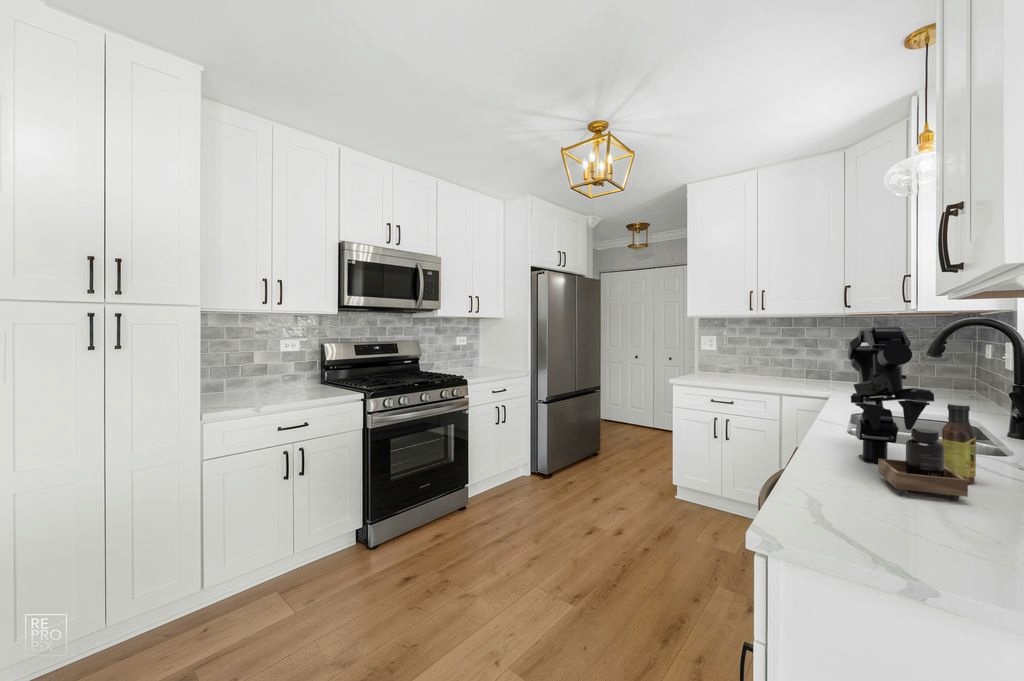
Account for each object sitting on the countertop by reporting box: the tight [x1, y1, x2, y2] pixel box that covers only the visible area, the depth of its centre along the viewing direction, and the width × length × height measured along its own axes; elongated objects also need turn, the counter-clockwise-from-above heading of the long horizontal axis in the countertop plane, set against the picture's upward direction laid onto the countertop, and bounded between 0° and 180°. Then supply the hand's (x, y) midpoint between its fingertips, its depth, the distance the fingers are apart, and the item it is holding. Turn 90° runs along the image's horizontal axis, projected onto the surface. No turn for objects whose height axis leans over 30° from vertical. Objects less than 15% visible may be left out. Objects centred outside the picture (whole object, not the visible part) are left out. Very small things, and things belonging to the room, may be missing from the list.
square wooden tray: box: [877, 458, 969, 502], centre depth 106 cm, size 13×13×6 cm
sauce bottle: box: [941, 402, 977, 484], centre depth 113 cm, size 6×6×20 cm
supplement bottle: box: [905, 427, 944, 477], centre depth 106 cm, size 7×7×12 cm
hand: (891, 429), depth 115 cm, fingers open, 9 cm apart
